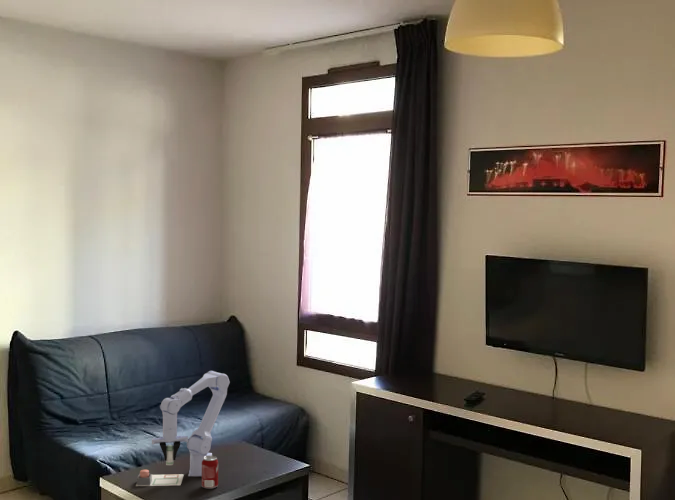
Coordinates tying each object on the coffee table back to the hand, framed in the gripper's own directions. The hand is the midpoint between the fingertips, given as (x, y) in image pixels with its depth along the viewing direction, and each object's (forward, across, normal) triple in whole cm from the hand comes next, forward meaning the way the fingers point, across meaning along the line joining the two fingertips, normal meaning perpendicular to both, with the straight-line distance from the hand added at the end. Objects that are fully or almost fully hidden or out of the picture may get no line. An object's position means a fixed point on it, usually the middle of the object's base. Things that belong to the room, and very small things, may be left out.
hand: (169, 459), depth 316 cm
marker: (+2, 0, 0) cm, 2 cm away
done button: (+7, +10, 0) cm, 13 cm away
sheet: (+9, +4, -2) cm, 10 cm away
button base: (+9, +10, 0) cm, 14 cm away
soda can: (+10, -15, +10) cm, 21 cm away
